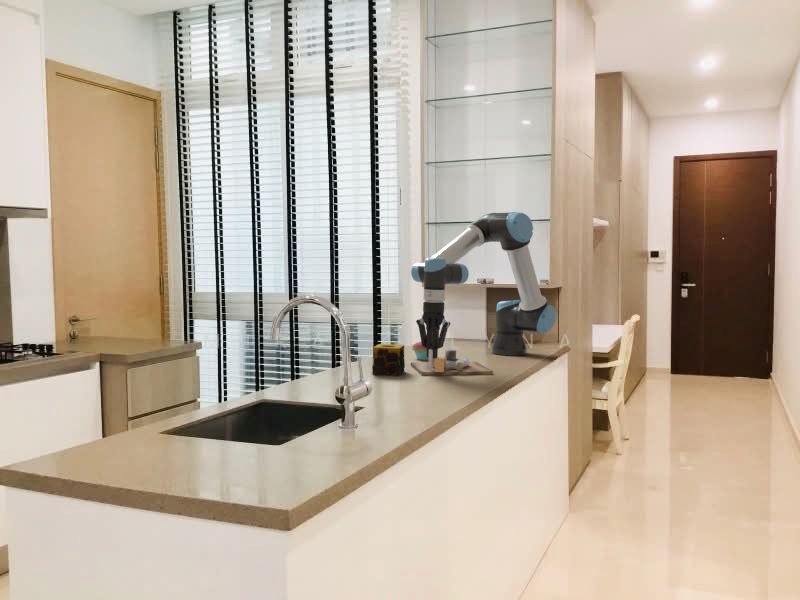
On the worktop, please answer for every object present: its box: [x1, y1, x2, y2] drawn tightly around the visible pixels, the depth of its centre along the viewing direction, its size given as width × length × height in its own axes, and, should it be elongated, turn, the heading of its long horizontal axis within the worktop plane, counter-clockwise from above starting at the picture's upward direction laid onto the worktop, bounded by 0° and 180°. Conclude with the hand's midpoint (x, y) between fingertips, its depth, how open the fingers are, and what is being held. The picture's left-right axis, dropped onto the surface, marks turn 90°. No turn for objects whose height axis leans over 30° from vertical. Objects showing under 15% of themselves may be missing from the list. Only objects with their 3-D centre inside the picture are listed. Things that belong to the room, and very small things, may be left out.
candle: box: [371, 343, 406, 377], centre depth 260 cm, size 10×10×10 cm
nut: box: [434, 356, 470, 372], centre depth 265 cm, size 20×11×5 cm, turn 160°
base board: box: [410, 349, 494, 376], centre depth 269 cm, size 26×22×7 cm
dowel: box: [456, 362, 462, 371], centre depth 261 cm, size 2×2×3 cm
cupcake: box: [411, 341, 429, 361], centre depth 295 cm, size 9×8×12 cm
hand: (431, 367), depth 259 cm, fingers closed
